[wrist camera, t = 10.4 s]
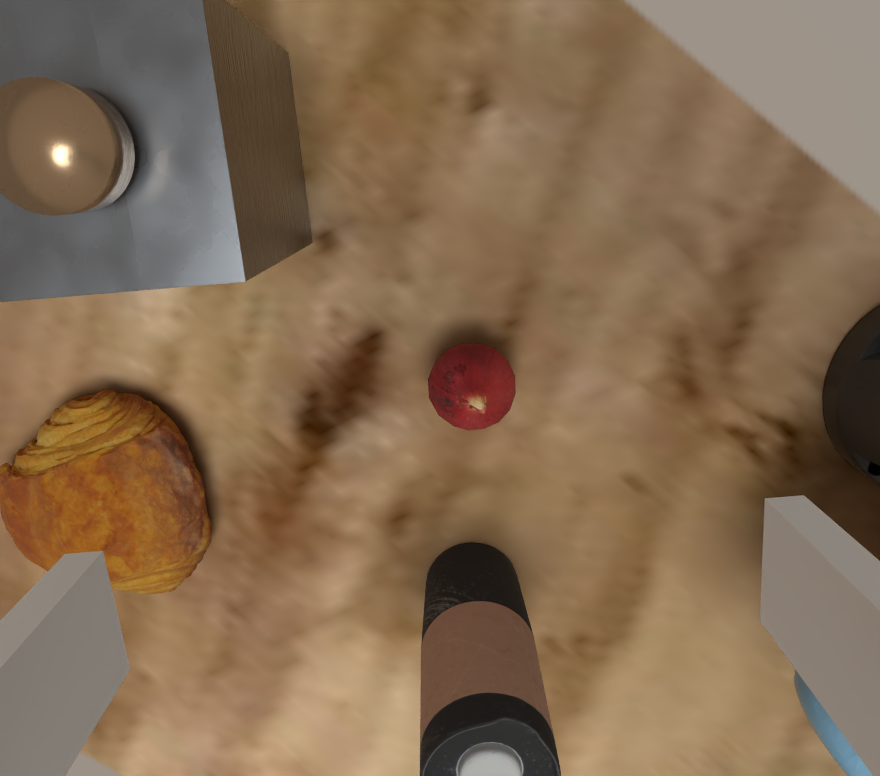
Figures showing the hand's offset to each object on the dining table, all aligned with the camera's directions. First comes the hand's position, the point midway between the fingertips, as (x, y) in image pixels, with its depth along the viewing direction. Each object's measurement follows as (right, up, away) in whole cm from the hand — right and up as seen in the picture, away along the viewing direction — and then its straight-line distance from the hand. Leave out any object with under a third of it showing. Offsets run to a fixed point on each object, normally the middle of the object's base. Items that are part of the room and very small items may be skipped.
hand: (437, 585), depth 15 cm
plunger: (-15, +19, +33) cm, 41 cm away
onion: (+2, +5, +39) cm, 39 cm away
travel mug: (+3, -11, +44) cm, 45 cm away
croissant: (-24, -3, +41) cm, 48 cm away
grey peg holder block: (-15, +19, +35) cm, 42 cm away
